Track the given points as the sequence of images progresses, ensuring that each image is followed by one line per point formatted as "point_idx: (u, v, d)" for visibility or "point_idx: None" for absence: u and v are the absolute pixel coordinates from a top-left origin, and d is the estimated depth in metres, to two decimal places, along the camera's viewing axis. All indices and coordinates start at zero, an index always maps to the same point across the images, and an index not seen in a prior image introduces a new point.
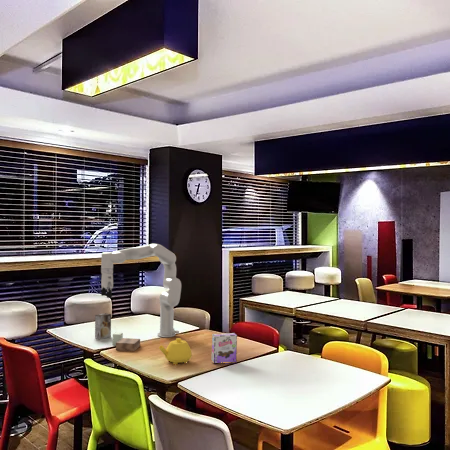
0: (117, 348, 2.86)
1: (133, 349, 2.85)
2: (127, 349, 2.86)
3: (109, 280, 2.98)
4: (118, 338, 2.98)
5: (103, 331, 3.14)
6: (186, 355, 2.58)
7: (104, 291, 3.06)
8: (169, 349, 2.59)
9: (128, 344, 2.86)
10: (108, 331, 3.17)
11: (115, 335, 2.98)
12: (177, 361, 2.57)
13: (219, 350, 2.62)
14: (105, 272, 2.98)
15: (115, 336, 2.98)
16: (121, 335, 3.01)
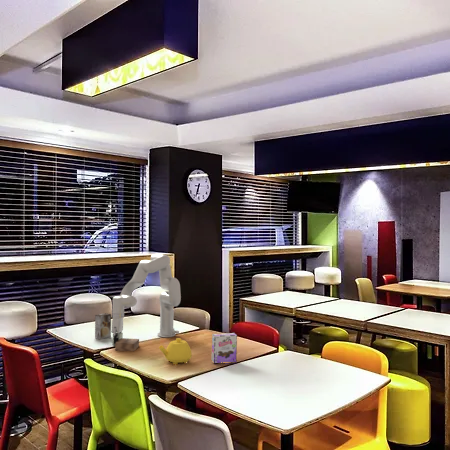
0: (116, 348, 2.86)
1: (133, 349, 2.85)
2: (126, 349, 2.85)
3: None
4: None
5: (103, 331, 3.14)
6: (186, 355, 2.58)
7: None
8: (169, 349, 2.59)
9: (127, 344, 2.85)
10: (108, 331, 3.17)
11: None
12: (177, 361, 2.57)
13: (219, 350, 2.62)
14: None
15: None
16: (121, 335, 3.01)
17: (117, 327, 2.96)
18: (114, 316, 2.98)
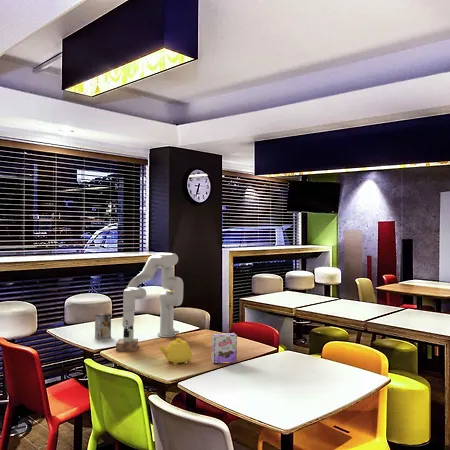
0: (117, 349, 2.85)
1: (134, 349, 2.86)
2: (128, 349, 2.85)
3: None
4: (129, 335, 2.89)
5: (103, 331, 3.14)
6: (186, 355, 2.58)
7: None
8: (169, 349, 2.59)
9: (129, 344, 2.85)
10: (108, 331, 3.17)
11: None
12: (177, 361, 2.57)
13: (219, 350, 2.62)
14: None
15: None
16: (132, 332, 2.92)
17: (128, 320, 2.87)
18: (125, 309, 2.89)
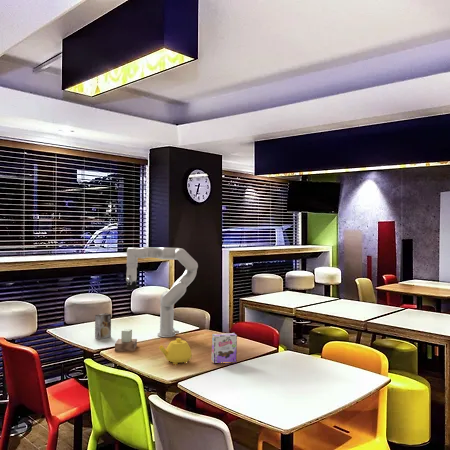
0: (116, 349, 2.84)
1: (133, 349, 2.85)
2: (126, 349, 2.85)
3: None
4: (127, 335, 2.88)
5: (103, 331, 3.14)
6: (186, 355, 2.58)
7: None
8: (169, 349, 2.59)
9: (127, 344, 2.85)
10: (108, 331, 3.17)
11: (124, 332, 2.89)
12: (177, 361, 2.57)
13: (219, 350, 2.62)
14: None
15: (124, 333, 2.89)
16: (130, 332, 2.91)
17: (131, 275, 3.17)
18: (128, 265, 3.18)
